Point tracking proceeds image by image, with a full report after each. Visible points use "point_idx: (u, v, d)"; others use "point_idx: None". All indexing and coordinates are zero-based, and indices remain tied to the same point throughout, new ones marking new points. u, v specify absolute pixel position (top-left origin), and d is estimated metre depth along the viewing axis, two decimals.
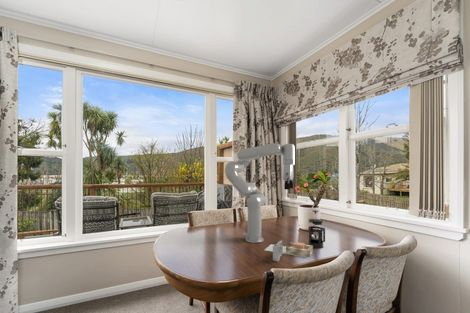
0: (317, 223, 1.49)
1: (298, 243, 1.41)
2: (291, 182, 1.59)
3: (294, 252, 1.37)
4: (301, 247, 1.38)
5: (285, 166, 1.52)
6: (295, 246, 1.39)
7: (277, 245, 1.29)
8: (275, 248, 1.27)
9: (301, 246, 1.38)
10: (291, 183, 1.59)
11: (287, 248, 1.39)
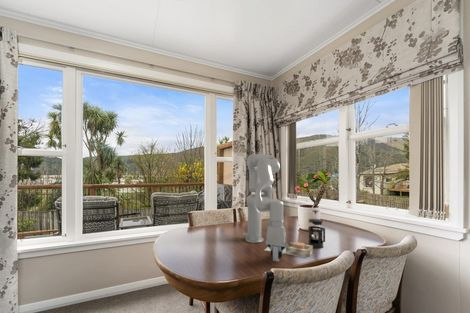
0: (317, 223, 1.49)
1: (298, 243, 1.41)
2: None
3: (294, 252, 1.37)
4: (301, 247, 1.38)
5: (284, 229, 1.26)
6: (295, 246, 1.39)
7: None
8: (275, 248, 1.27)
9: (301, 246, 1.38)
10: None
11: (287, 248, 1.39)
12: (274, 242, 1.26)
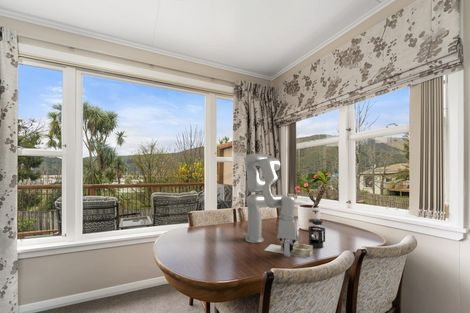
0: (317, 223, 1.49)
1: None
2: None
3: (294, 252, 1.37)
4: None
5: (295, 223, 1.33)
6: (281, 244, 1.43)
7: (288, 241, 1.35)
8: (286, 244, 1.34)
9: None
10: None
11: None
12: (286, 235, 1.34)
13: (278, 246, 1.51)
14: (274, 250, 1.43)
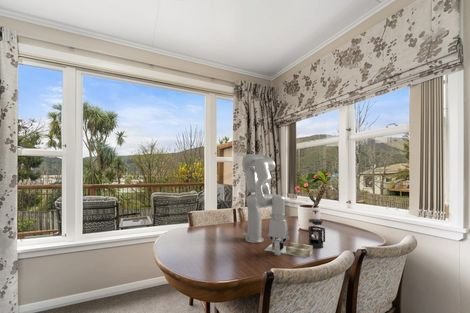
0: (317, 223, 1.49)
1: None
2: None
3: (294, 252, 1.37)
4: None
5: (285, 222, 1.36)
6: (272, 243, 1.45)
7: (278, 240, 1.37)
8: (276, 243, 1.36)
9: None
10: None
11: (287, 248, 1.39)
12: (276, 234, 1.36)
13: None
14: (274, 250, 1.43)
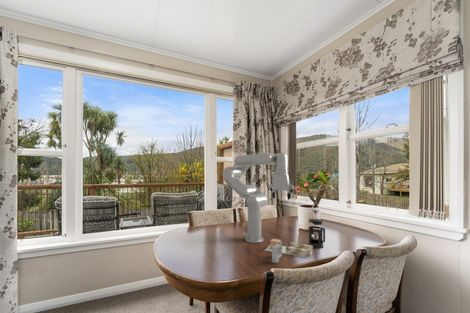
0: (317, 223, 1.49)
1: (274, 240, 1.48)
2: (274, 192, 1.56)
3: (294, 252, 1.37)
4: None
5: (288, 176, 1.51)
6: (271, 242, 1.46)
7: (276, 246, 1.27)
8: (274, 249, 1.26)
9: (276, 242, 1.44)
10: (274, 193, 1.56)
11: (287, 248, 1.39)
12: (279, 187, 1.51)
13: None
14: None
